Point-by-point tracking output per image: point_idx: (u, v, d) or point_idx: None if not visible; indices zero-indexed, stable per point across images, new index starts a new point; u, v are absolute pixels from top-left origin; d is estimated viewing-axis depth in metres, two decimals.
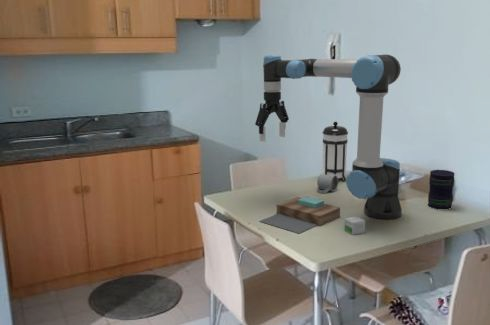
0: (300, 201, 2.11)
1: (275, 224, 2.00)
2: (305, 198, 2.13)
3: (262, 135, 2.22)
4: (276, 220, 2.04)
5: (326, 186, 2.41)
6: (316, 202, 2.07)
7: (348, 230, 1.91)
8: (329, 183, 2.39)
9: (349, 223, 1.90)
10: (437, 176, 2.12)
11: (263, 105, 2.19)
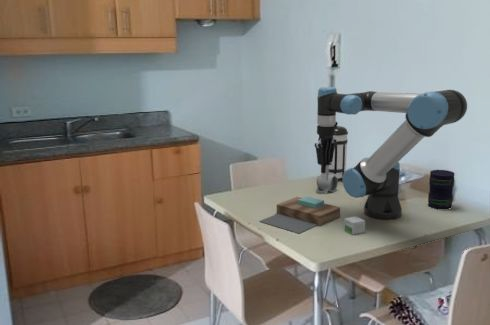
0: (300, 201, 2.11)
1: (275, 224, 2.00)
2: (305, 198, 2.13)
3: (324, 174, 2.15)
4: (276, 220, 2.04)
5: (325, 186, 2.40)
6: (316, 202, 2.07)
7: (348, 230, 1.91)
8: (328, 183, 2.39)
9: (349, 223, 1.90)
10: (437, 176, 2.12)
11: (318, 146, 2.08)
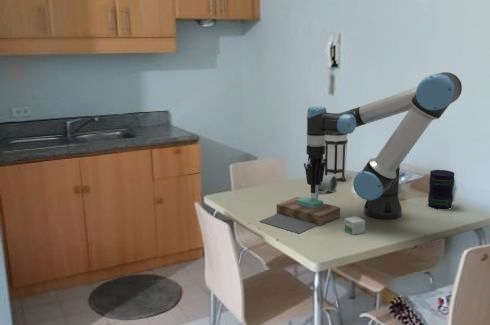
0: (299, 201, 2.10)
1: (275, 224, 2.00)
2: (304, 198, 2.12)
3: (314, 194, 2.11)
4: (276, 220, 2.04)
5: (325, 187, 2.40)
6: (315, 202, 2.07)
7: (348, 230, 1.91)
8: (328, 184, 2.38)
9: (349, 223, 1.90)
10: (437, 176, 2.12)
11: (307, 166, 2.04)
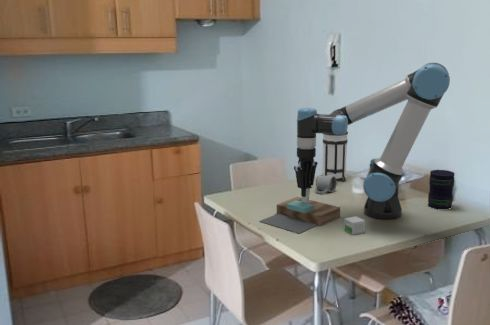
0: (289, 205, 2.05)
1: (275, 224, 2.00)
2: (294, 202, 2.08)
3: (304, 198, 2.07)
4: (276, 220, 2.04)
5: (324, 187, 2.39)
6: (305, 206, 2.02)
7: (348, 230, 1.91)
8: (327, 184, 2.38)
9: (349, 223, 1.90)
10: (437, 176, 2.12)
11: (298, 169, 2.00)
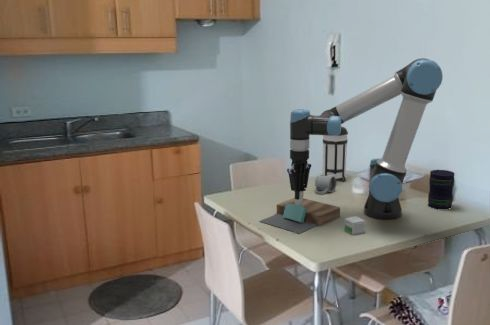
0: (286, 217, 2.05)
1: (275, 224, 2.00)
2: (287, 209, 2.05)
3: (298, 200, 2.04)
4: (276, 220, 2.04)
5: (324, 187, 2.39)
6: (299, 216, 2.00)
7: (348, 230, 1.91)
8: (327, 184, 2.38)
9: (349, 223, 1.90)
10: (437, 176, 2.12)
11: (291, 172, 1.97)
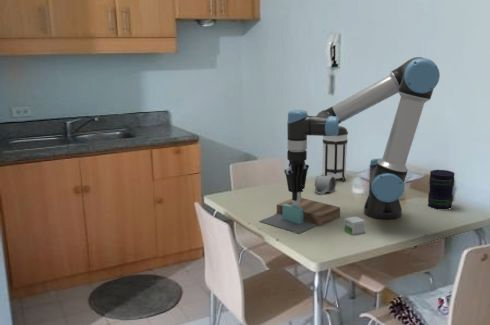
0: None
1: (275, 224, 2.00)
2: (285, 211, 2.04)
3: (296, 201, 2.03)
4: (276, 220, 2.04)
5: (324, 187, 2.39)
6: (298, 218, 2.00)
7: (348, 230, 1.91)
8: (327, 184, 2.37)
9: (349, 223, 1.90)
10: (437, 176, 2.12)
11: (288, 173, 1.95)
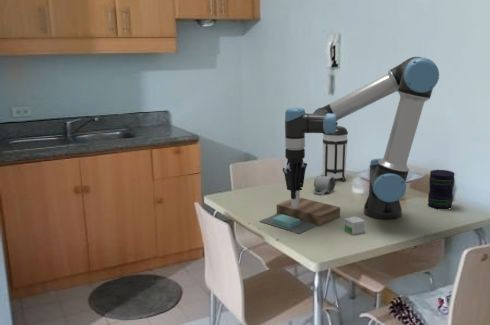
0: None
1: (275, 224, 2.00)
2: None
3: (294, 200, 2.01)
4: None
5: (323, 187, 2.38)
6: None
7: (348, 230, 1.91)
8: (326, 184, 2.37)
9: (349, 223, 1.90)
10: (437, 176, 2.12)
11: (286, 171, 1.94)
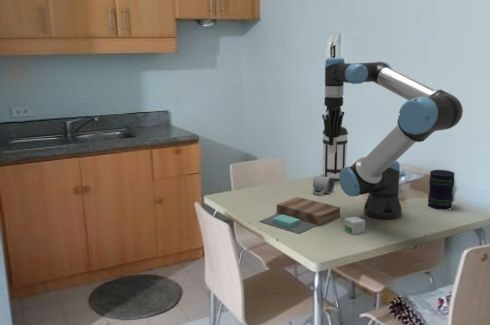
0: None
1: (275, 224, 2.00)
2: None
3: (332, 146, 2.12)
4: None
5: (322, 188, 2.38)
6: None
7: (348, 230, 1.91)
8: (325, 185, 2.36)
9: (349, 223, 1.90)
10: (437, 176, 2.12)
11: (326, 117, 2.05)
